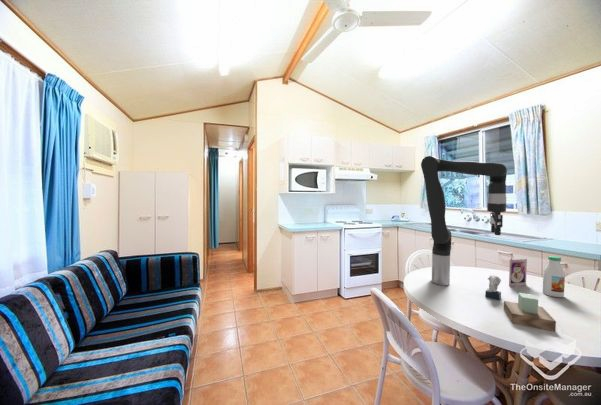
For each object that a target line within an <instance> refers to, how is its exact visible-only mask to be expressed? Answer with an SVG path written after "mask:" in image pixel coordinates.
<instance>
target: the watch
mask: <svg viewBox="0 0 601 405" xmlns="http://www.w3.org/2000/svg"><path fill="white" fill-rule="evenodd" d="M487 280H488V281H489V282H488V288H486V289H485V294H484V295H485V297H486V298H487V299H488V298H489V299H492V300H496V301H500V300H501V297H502V291H499V290H498V286H500V284H501V282H502V279H501V278H500V277H499V276H496V275H494V274H493V275H489V276H488V277H487Z"/></svg>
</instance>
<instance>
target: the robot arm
mask: <svg viewBox="0 0 601 405" xmlns="http://www.w3.org/2000/svg"><path fill="white" fill-rule="evenodd" d="M420 167H421V171H422V174H423V179H424V185H425V186H424V187H425V194H426V195H425V196H426V204H427V207H428V214H429V217H430V225H431V226H430V228H431V233H430V234H431V238H432V240H433V244H432V245H433V246H432V250H431V251H432V252H431V284H436V285H437V286H449V285H450V283H451V282H450V280H451V278H450V277H451V275H450V274H451V250H452V232H451V231H452V230H450V229H449V228H448V227H447V222H446V207H447V206H446V198H445V196H446V195H445V191H444V189H443V187H442V184H441V182H440V178H439V172H450V173H457V174H462V175H463V174H464V175H472V176H486V177H489V184H488V190H487V191H488V192H487V193H488V195H487V203H486V204H487V205H486V206H487V207H486V210H487V212H490V216H489V217H490V218H489V220H490V221H489V224H490V227H491V228H490V232H491V233H494V235H495V236H501V235H502V234H501V233H502V232H501V231H502V228H503V222H504V221H503V220H504V218H503V214H501V213H505V212H507V184H506V182H507V176H508V175H507V174H508V173H507V171H508V168H507V167H506V165H505V164H503V163H499V162H482V161H471V160H470V161H469V160H447V159H441V158H438V157H436V156H432V155H428V156H424V158H423V159H422V160H421V163H420Z"/></svg>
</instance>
